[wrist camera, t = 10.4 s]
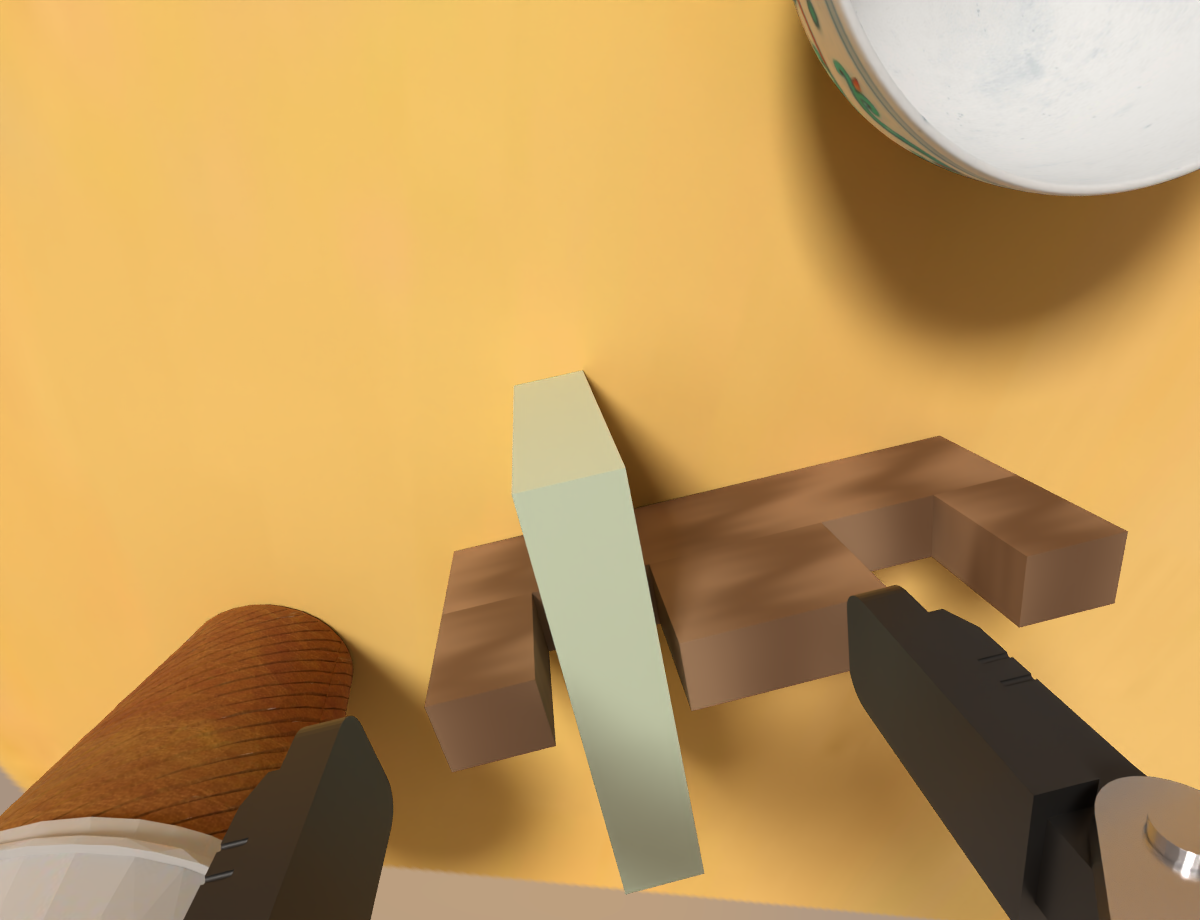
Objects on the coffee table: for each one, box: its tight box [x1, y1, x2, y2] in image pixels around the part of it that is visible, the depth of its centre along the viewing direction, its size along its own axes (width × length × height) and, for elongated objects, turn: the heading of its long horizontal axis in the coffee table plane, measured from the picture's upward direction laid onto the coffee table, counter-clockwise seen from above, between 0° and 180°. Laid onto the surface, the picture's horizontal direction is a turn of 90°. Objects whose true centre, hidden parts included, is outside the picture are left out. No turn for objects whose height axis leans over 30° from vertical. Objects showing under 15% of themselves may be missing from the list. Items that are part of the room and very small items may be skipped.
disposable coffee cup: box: [0, 605, 353, 920], centre depth 18 cm, size 10×10×12 cm
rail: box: [425, 436, 1128, 772], centre depth 20 cm, size 20×2×8 cm, turn 101°
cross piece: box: [512, 370, 704, 894], centre depth 20 cm, size 14×2×9 cm, turn 11°
